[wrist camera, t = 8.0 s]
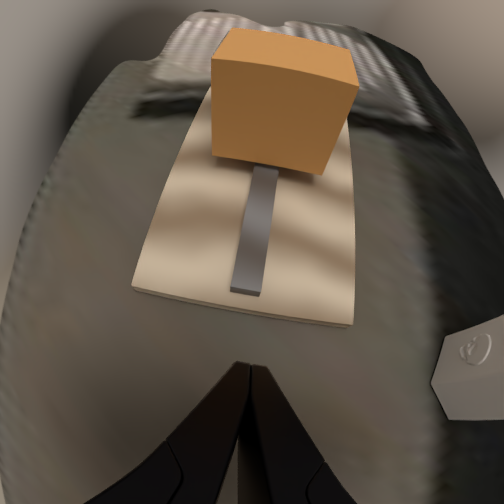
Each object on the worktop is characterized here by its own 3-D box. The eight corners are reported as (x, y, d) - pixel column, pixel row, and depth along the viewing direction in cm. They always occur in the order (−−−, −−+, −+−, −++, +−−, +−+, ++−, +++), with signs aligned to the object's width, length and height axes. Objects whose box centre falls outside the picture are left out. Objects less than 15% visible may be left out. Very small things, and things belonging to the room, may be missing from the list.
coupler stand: (346, 327, 21) (416, 290, 12) (135, 290, 20) (85, 231, 12) (343, 119, 31) (367, 57, 23) (210, 94, 31) (210, 27, 22)
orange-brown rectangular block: (321, 175, 23) (359, 86, 14) (212, 155, 23) (211, 58, 14) (321, 129, 25) (349, 49, 17) (227, 111, 25) (232, 27, 17)
